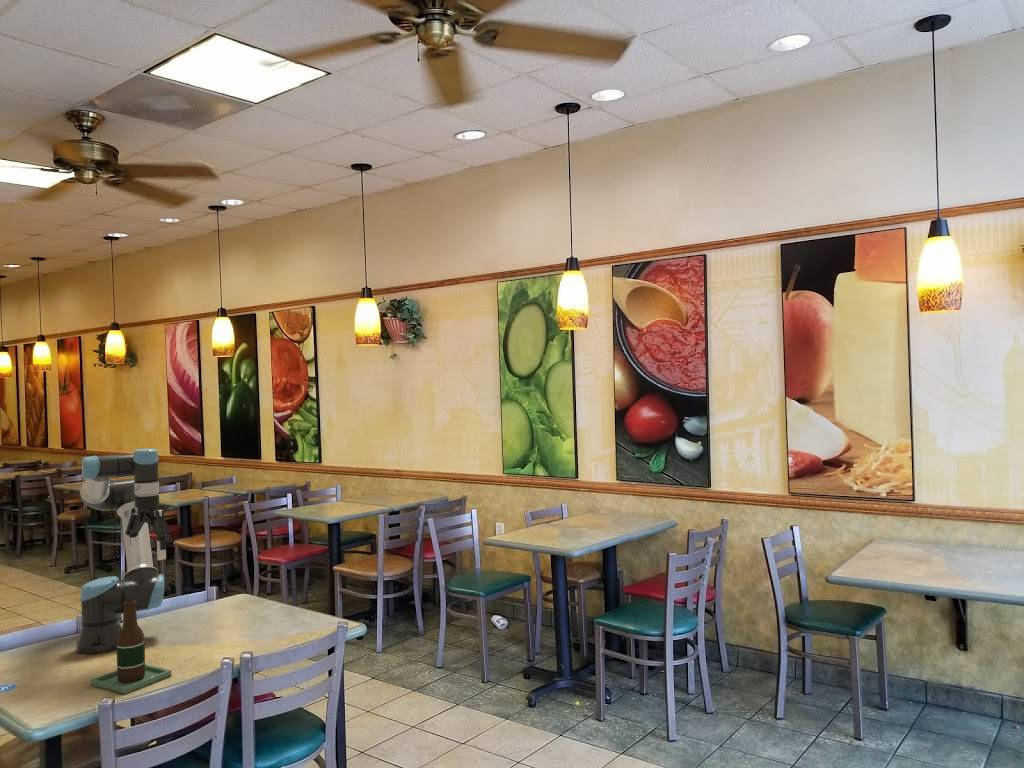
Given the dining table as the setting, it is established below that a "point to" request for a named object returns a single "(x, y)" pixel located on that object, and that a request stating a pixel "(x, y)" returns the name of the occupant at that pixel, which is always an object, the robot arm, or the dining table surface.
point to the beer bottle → (130, 647)
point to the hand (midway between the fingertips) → (148, 558)
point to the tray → (114, 685)
